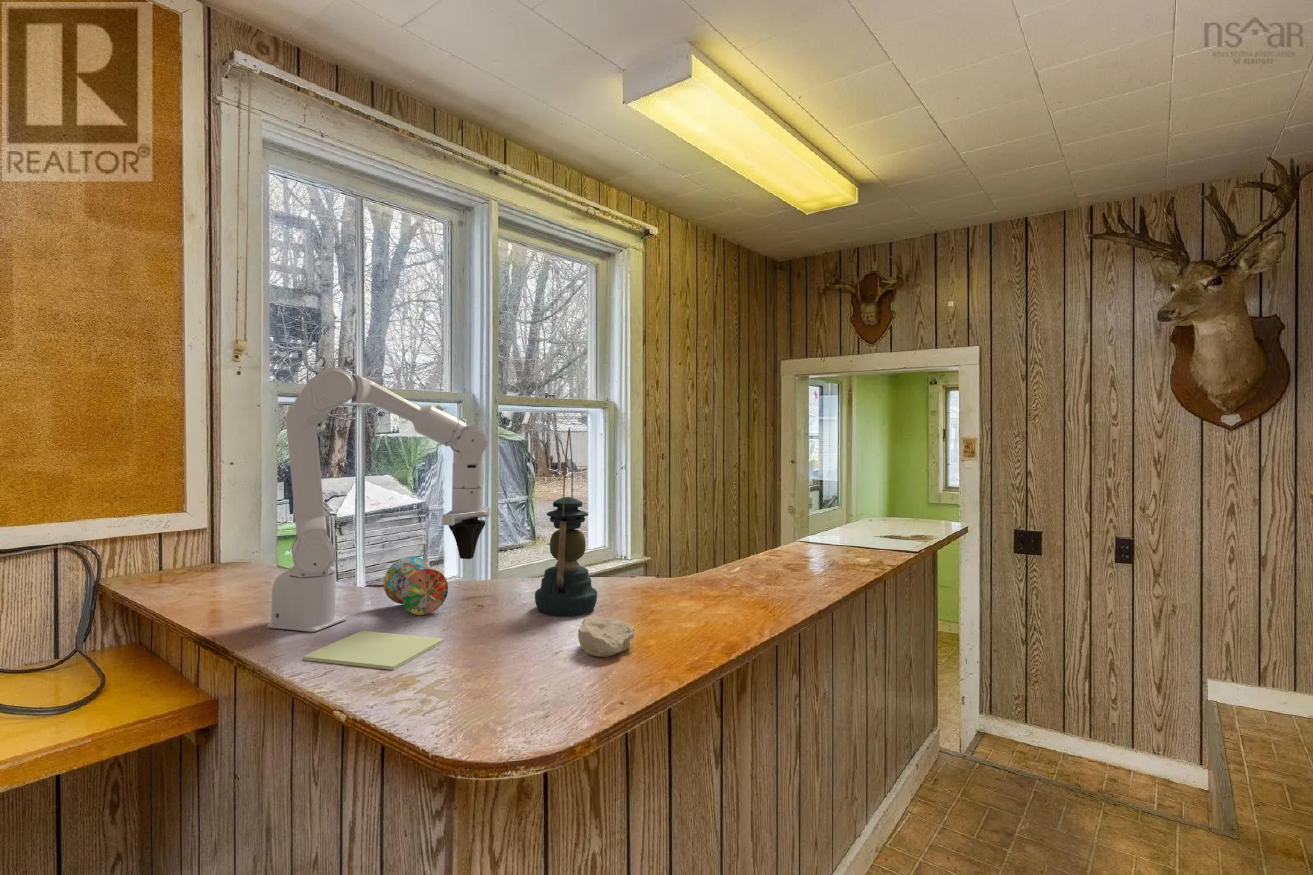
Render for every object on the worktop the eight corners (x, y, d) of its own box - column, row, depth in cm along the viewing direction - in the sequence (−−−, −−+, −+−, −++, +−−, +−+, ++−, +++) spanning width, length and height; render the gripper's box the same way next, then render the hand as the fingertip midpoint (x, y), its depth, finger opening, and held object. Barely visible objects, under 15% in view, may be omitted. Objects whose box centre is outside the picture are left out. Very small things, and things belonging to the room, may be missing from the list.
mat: (302, 659, 94) (302, 656, 94) (362, 633, 107) (362, 630, 107) (393, 670, 91) (393, 666, 91) (444, 641, 103) (444, 638, 103)
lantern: (592, 620, 117) (596, 427, 117) (527, 619, 117) (531, 425, 117) (600, 600, 131) (603, 428, 131) (542, 599, 131) (545, 427, 131)
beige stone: (640, 623, 106) (629, 614, 97) (633, 664, 103) (621, 660, 94) (590, 614, 108) (574, 605, 98) (581, 655, 105) (564, 650, 96)
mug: (422, 558, 117) (403, 547, 125) (389, 604, 113) (372, 589, 122) (472, 589, 123) (451, 577, 131) (443, 634, 120) (423, 618, 128)
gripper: (467, 491, 116) (466, 566, 116) (503, 485, 131) (502, 552, 131) (432, 490, 118) (431, 564, 118) (472, 484, 132) (471, 551, 132)
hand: (466, 558), depth 124 cm, fingers closed
